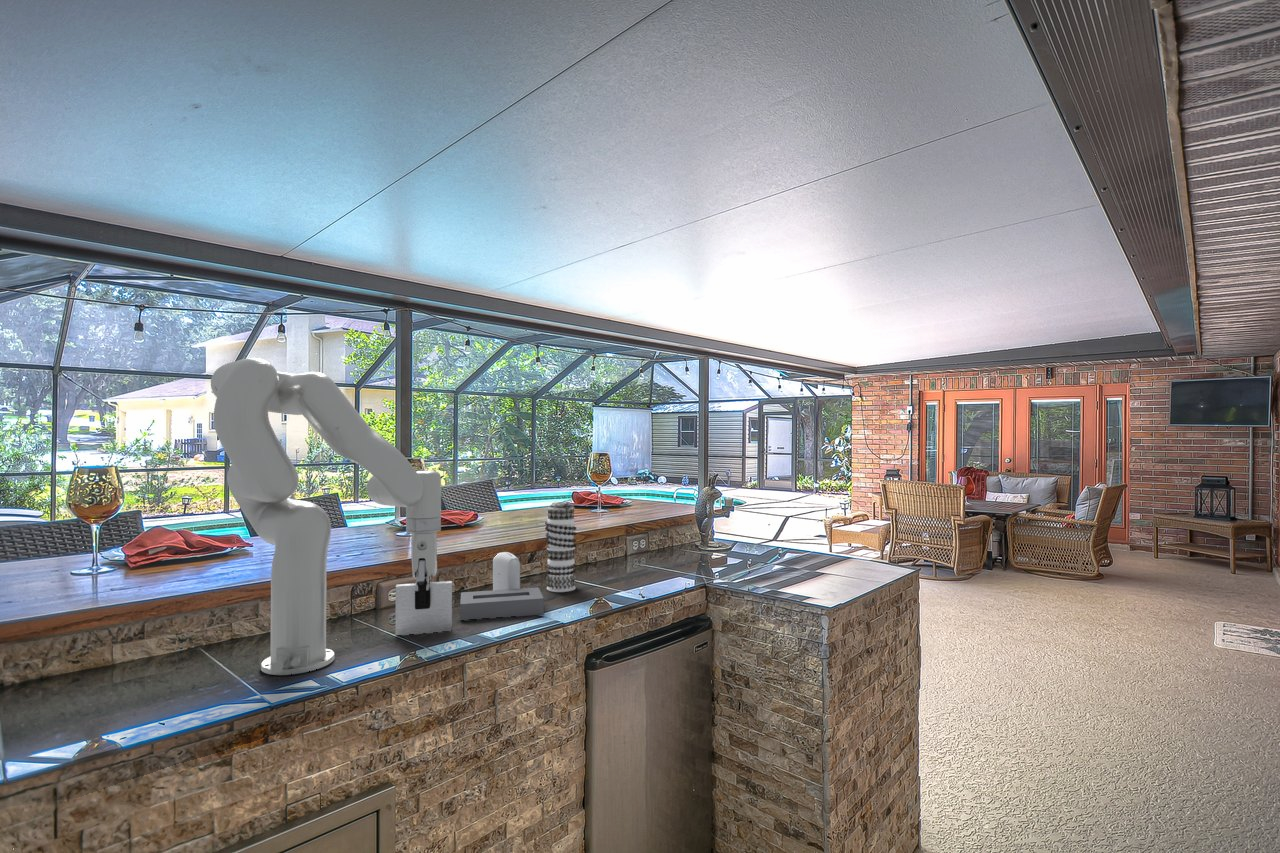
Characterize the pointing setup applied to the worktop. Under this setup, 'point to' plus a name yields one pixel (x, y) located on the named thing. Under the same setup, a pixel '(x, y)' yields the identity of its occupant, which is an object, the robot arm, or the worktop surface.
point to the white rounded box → (506, 571)
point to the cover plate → (424, 619)
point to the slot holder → (501, 603)
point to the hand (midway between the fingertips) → (423, 604)
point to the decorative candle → (560, 547)
